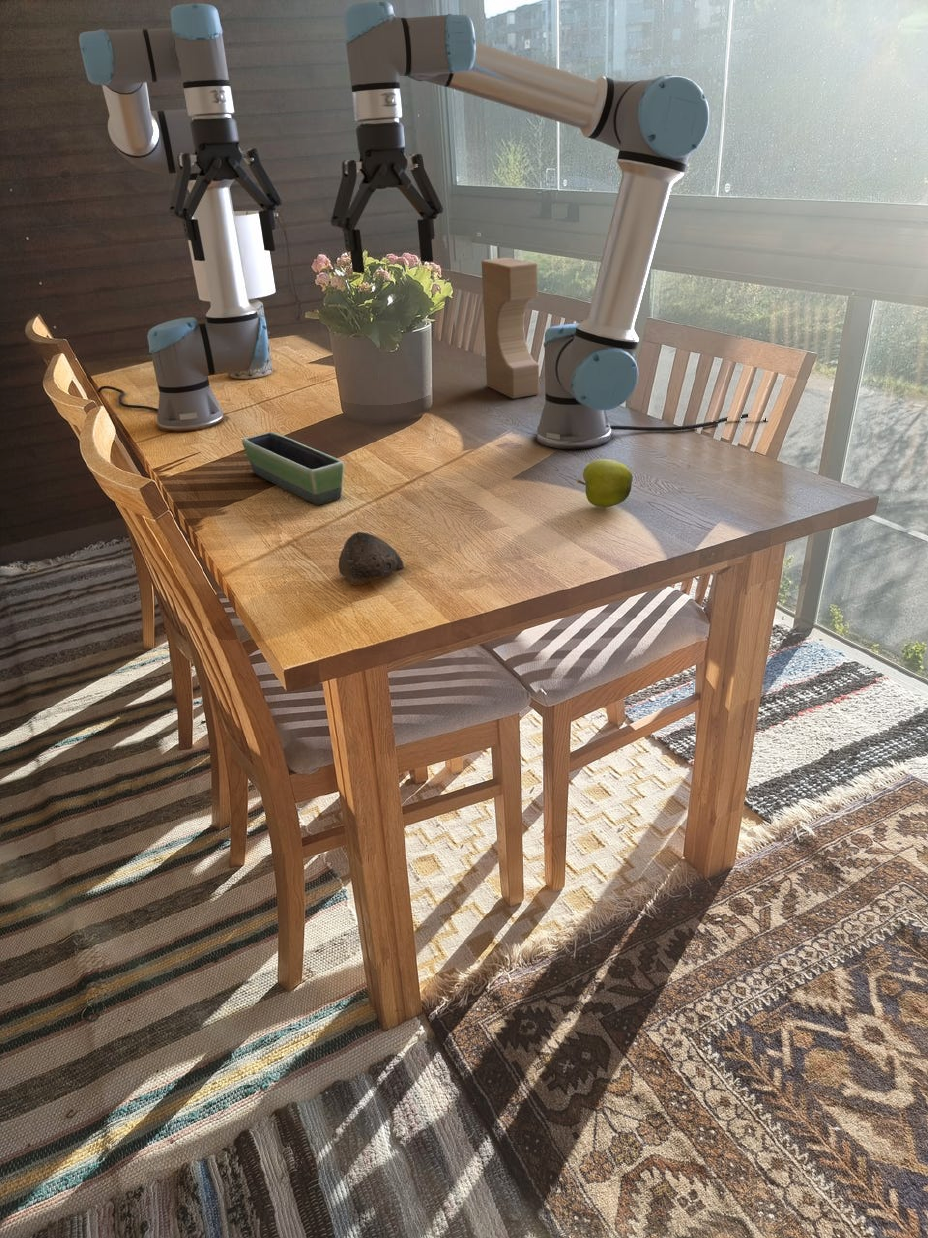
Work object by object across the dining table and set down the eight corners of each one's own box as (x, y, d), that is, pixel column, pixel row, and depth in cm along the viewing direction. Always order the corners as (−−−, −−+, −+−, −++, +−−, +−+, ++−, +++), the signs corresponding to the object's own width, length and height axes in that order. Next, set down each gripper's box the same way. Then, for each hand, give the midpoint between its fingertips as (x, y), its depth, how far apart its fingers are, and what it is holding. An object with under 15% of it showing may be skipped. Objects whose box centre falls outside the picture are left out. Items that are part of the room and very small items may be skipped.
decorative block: (540, 394, 215) (538, 263, 201) (512, 399, 213) (508, 266, 198) (512, 381, 227) (509, 256, 213) (486, 386, 225) (480, 260, 210)
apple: (575, 498, 154) (576, 454, 151) (628, 496, 154) (629, 451, 150) (579, 515, 148) (579, 469, 144) (634, 513, 147) (636, 467, 143)
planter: (246, 474, 176) (239, 439, 173) (278, 465, 180) (272, 430, 177) (316, 510, 157) (310, 471, 154) (350, 499, 161) (345, 461, 157)
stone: (370, 582, 138) (319, 551, 133) (405, 543, 136) (354, 511, 130) (380, 619, 131) (327, 588, 125) (417, 579, 128) (364, 545, 123)
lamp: (301, 366, 256) (278, 209, 236) (258, 384, 240) (230, 217, 220) (244, 363, 264) (217, 211, 244) (199, 380, 248) (166, 219, 228)
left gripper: (148, 120, 137) (177, 266, 147) (289, 113, 150) (307, 247, 160) (130, 122, 142) (160, 263, 152) (268, 115, 155) (286, 245, 166)
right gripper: (319, 126, 130) (339, 278, 140) (457, 116, 142) (466, 257, 152) (296, 128, 135) (317, 275, 145) (431, 118, 147) (441, 255, 157)
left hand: (235, 255), depth 156 cm, fingers open, 13 cm apart
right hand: (393, 266), depth 149 cm, fingers open, 13 cm apart
